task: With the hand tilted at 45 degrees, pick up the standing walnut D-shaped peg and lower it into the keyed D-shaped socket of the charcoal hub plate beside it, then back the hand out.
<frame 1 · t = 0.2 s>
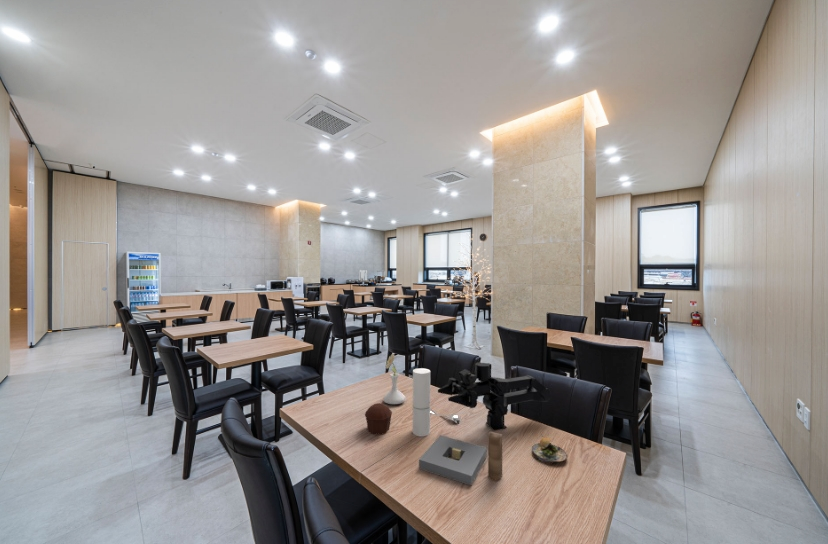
hand: (443, 395, 125), 17 cm above the table, tool horizontal, fingers open, 9 cm apart
walnut peg: (495, 475, 101), on the table
flower in vase: (394, 403, 158), on the table
muffin: (378, 429, 131), on the table
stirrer: (441, 417, 143), on the table
hub plate: (454, 462, 108), on the table
cylindrical container: (421, 432, 129), on the table
plate of food: (549, 456, 113), on the table
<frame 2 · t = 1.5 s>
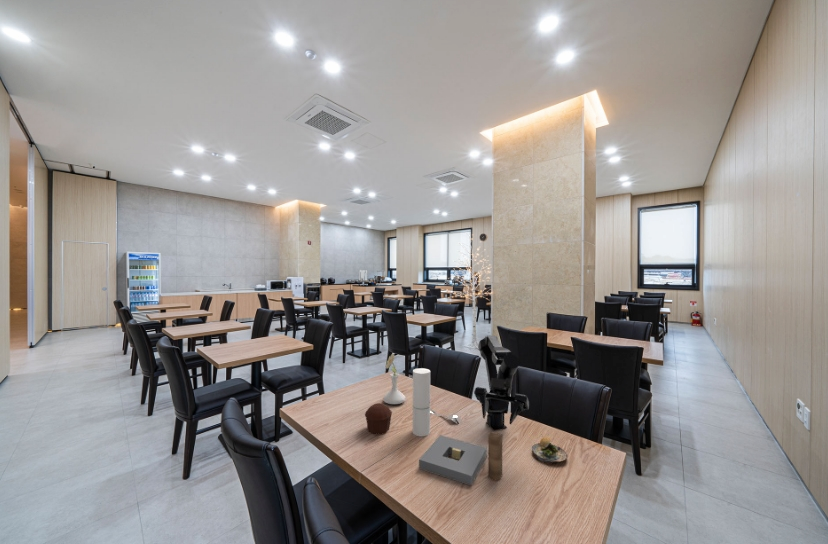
hand: (496, 420, 109), 14 cm above the table, tool tilted 45°, fingers open, 9 cm apart
nothing on the table moved.
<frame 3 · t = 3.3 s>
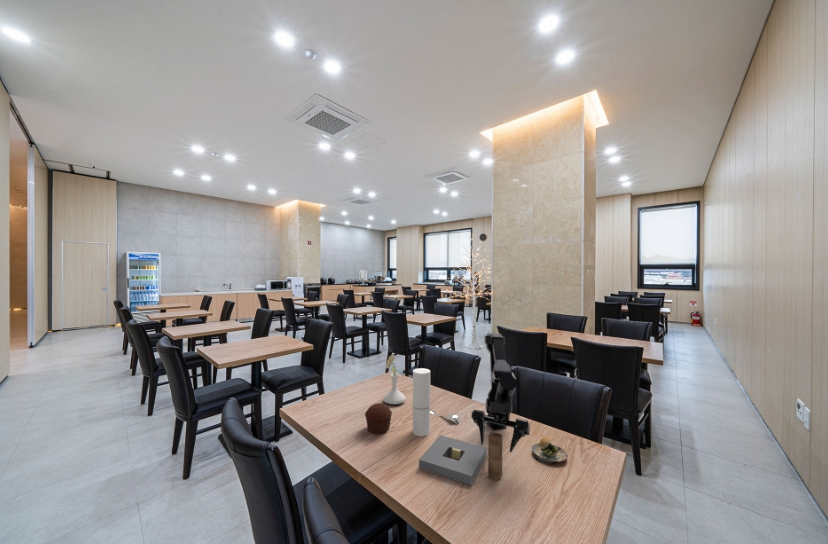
hand: (495, 448, 102), 8 cm above the table, tool tilted 45°, fingers open, 9 cm apart
nothing on the table moved.
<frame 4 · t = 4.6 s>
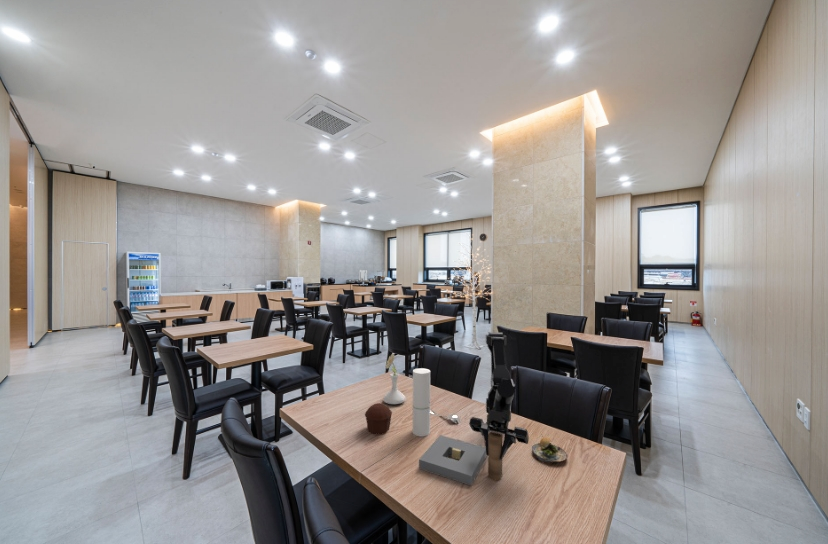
hand: (494, 457, 100), 7 cm above the table, tool tilted 45°, fingers closed on walnut peg, 4 cm apart
walnut peg: (495, 475, 101), on the table, touching gripper
everything else where it was.
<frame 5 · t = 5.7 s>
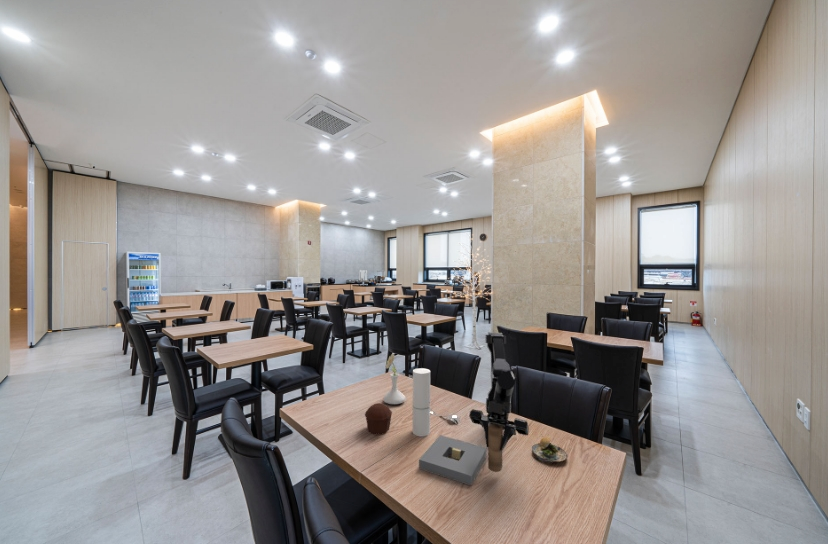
hand: (494, 448, 100), 9 cm above the table, tool tilted 45°, fingers closed on walnut peg, 4 cm apart
walnut peg: (495, 467, 101), point 3 cm above the table, touching gripper
everything else where it was.
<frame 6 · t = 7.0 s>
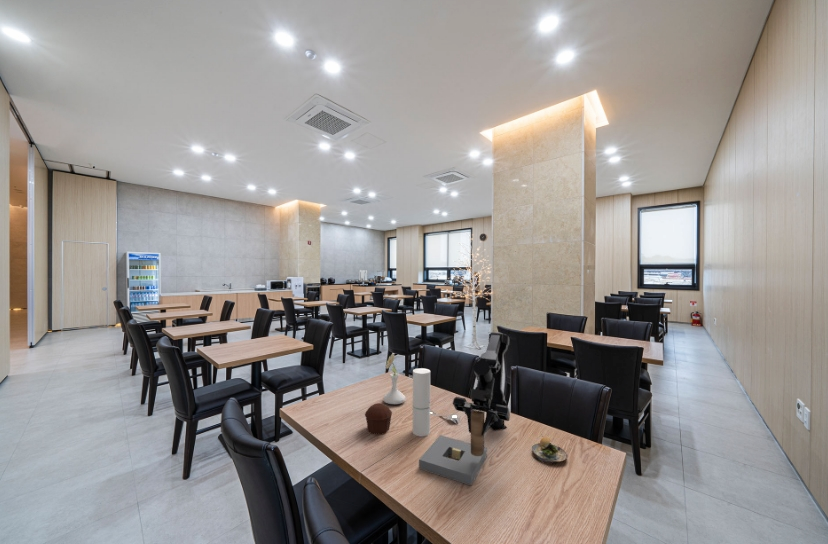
hand: (476, 433, 103), 12 cm above the table, tool tilted 45°, fingers closed on walnut peg, 4 cm apart
walnut peg: (477, 451, 104), point 6 cm above the table, touching gripper
everything else where it was.
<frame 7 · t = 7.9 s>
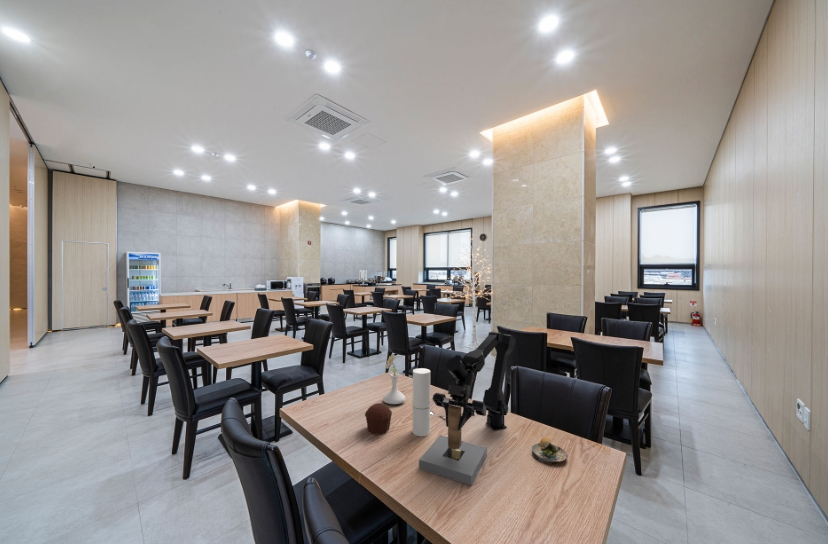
hand: (453, 428, 107), 12 cm above the table, tool tilted 45°, fingers closed on walnut peg, 4 cm apart
walnut peg: (454, 445, 108), point 6 cm above the table, touching gripper
everything else where it was.
when the fingers open (8 cm above the table, at t = 9.1 s): walnut peg drops 1 cm, resting in hub plate.
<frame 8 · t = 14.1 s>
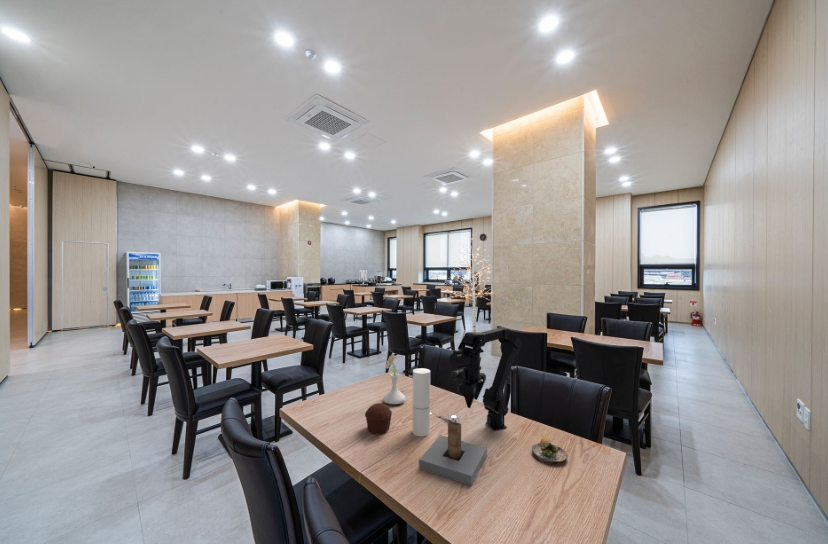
hand: (472, 403, 126), 13 cm above the table, tool pointing down, fingers open, 9 cm apart
walnut peg: (454, 462, 108), resting in hub plate
at the end: walnut peg 0.0 cm off-centre on the hub plate, point 0.0 cm above the hub plate's base; walnut peg tilted 0°; the gripper is holding nothing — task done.
